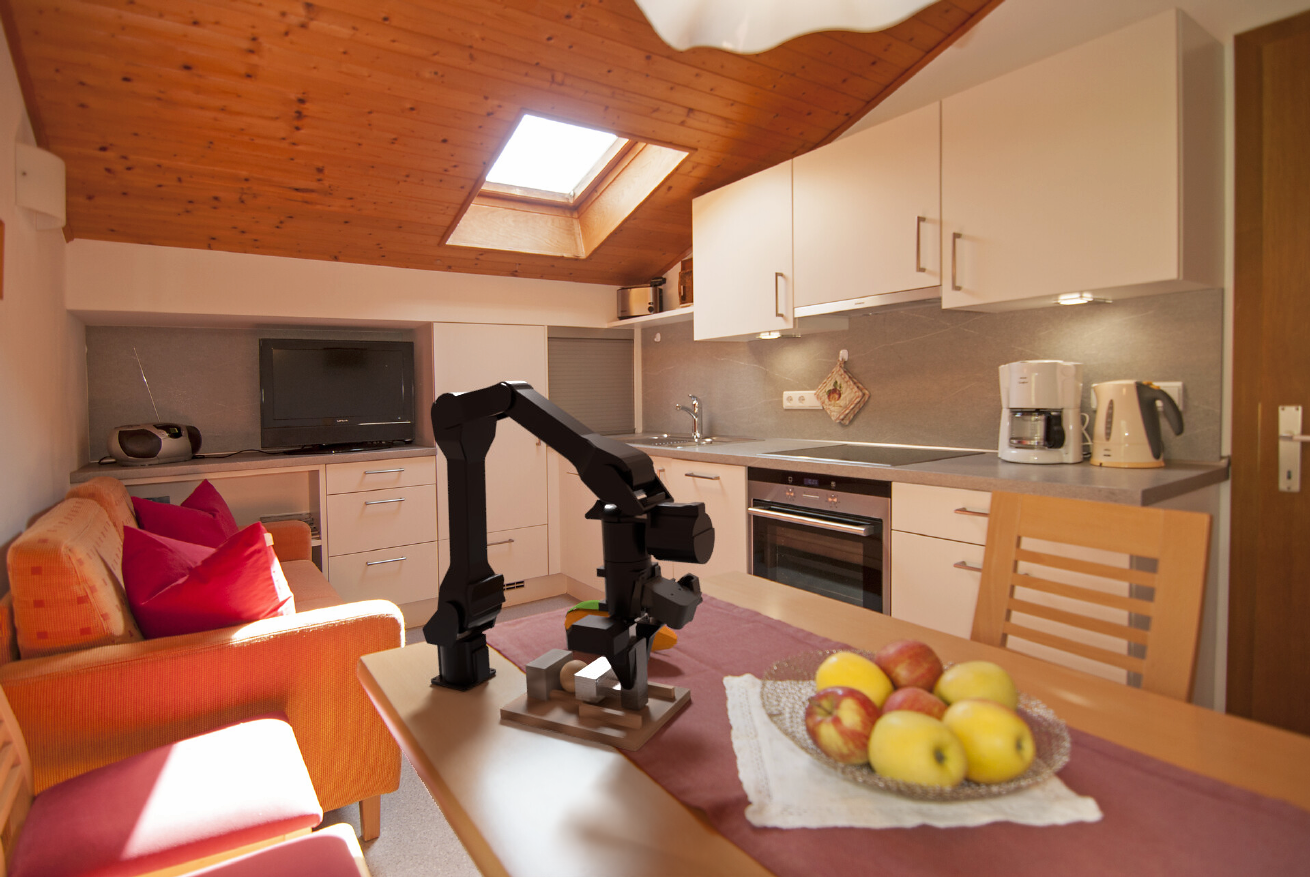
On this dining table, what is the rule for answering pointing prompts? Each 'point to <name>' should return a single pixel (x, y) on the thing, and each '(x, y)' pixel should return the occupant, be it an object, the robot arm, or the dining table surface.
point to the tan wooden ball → (570, 674)
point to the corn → (662, 638)
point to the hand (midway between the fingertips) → (633, 684)
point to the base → (589, 707)
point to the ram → (614, 682)
